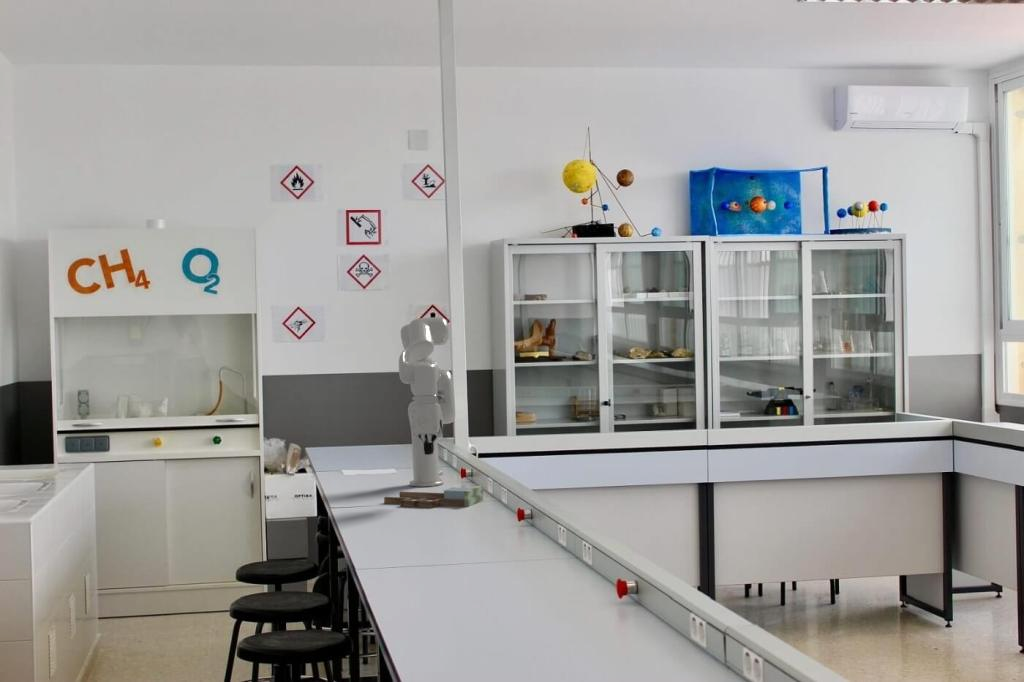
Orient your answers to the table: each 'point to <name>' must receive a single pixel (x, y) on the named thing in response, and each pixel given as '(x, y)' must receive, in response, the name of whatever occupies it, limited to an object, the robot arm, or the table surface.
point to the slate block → (455, 493)
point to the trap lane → (406, 500)
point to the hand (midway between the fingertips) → (429, 453)
